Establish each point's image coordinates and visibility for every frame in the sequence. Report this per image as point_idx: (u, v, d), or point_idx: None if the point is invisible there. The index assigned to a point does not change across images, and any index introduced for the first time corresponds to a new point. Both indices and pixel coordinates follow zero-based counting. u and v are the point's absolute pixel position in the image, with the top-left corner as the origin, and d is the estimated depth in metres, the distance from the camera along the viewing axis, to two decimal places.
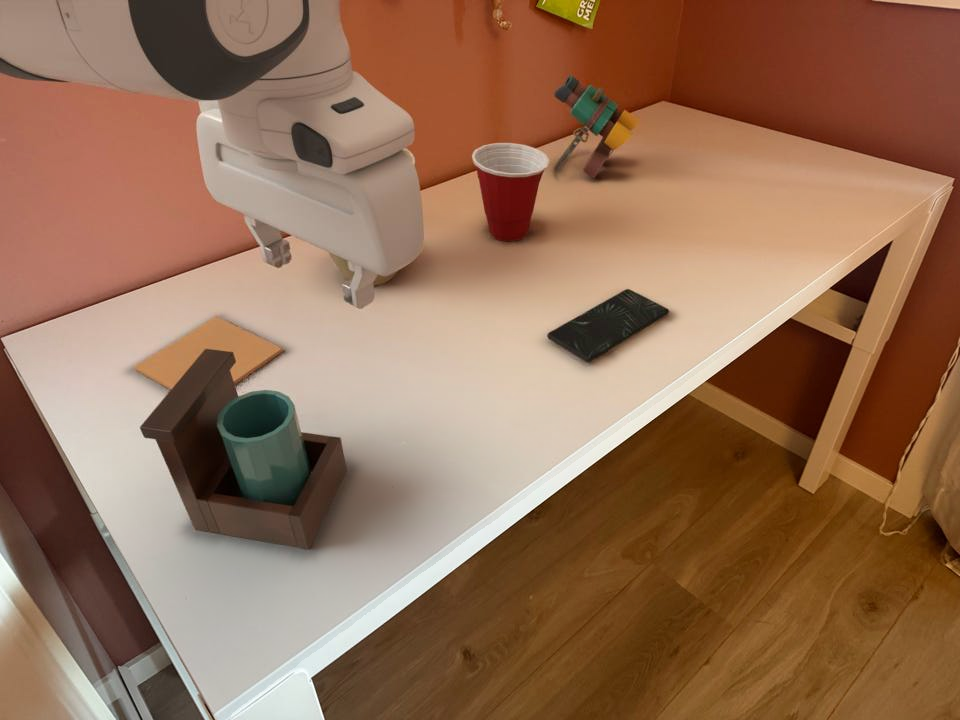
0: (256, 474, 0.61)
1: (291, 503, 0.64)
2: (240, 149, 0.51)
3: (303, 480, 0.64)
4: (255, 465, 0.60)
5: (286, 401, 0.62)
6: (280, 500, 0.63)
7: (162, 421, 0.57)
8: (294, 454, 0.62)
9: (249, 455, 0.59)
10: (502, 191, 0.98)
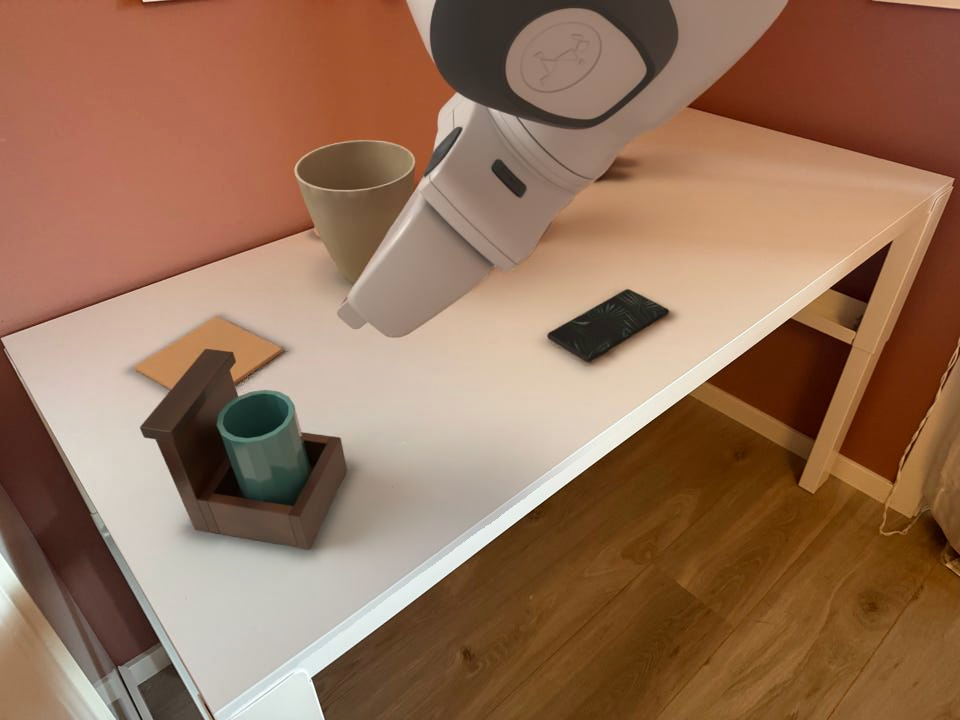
0: (256, 474, 0.61)
1: (291, 503, 0.64)
2: None
3: (303, 480, 0.64)
4: (255, 465, 0.60)
5: (286, 401, 0.62)
6: (280, 500, 0.63)
7: (162, 421, 0.57)
8: (294, 454, 0.62)
9: (249, 455, 0.59)
10: None
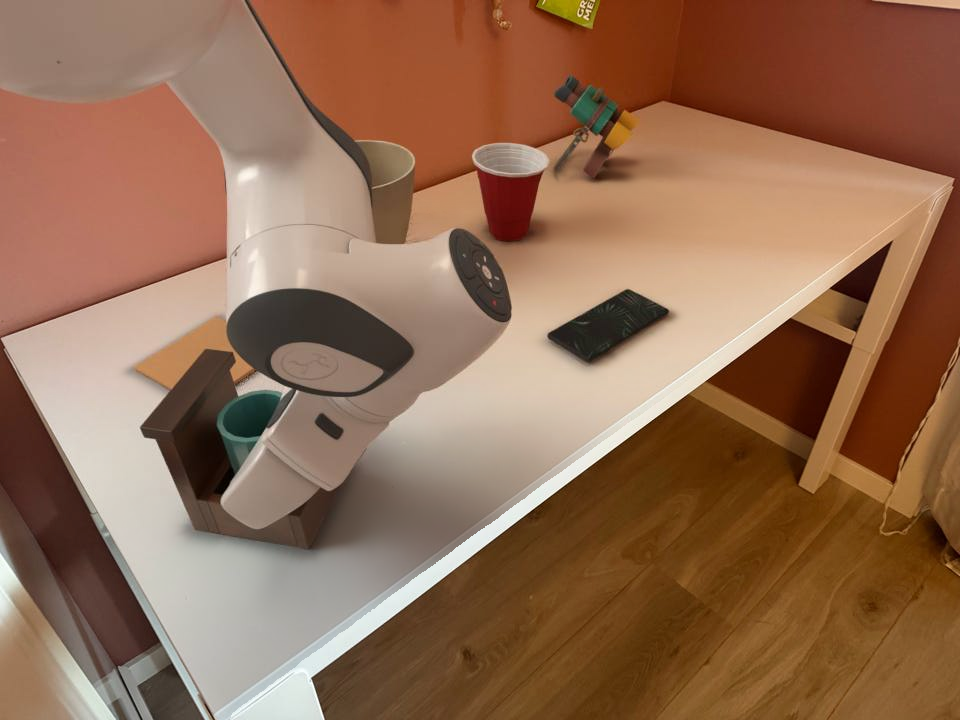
0: None
1: None
2: None
3: None
4: None
5: None
6: None
7: (162, 421, 0.57)
8: None
9: None
10: (502, 191, 0.98)
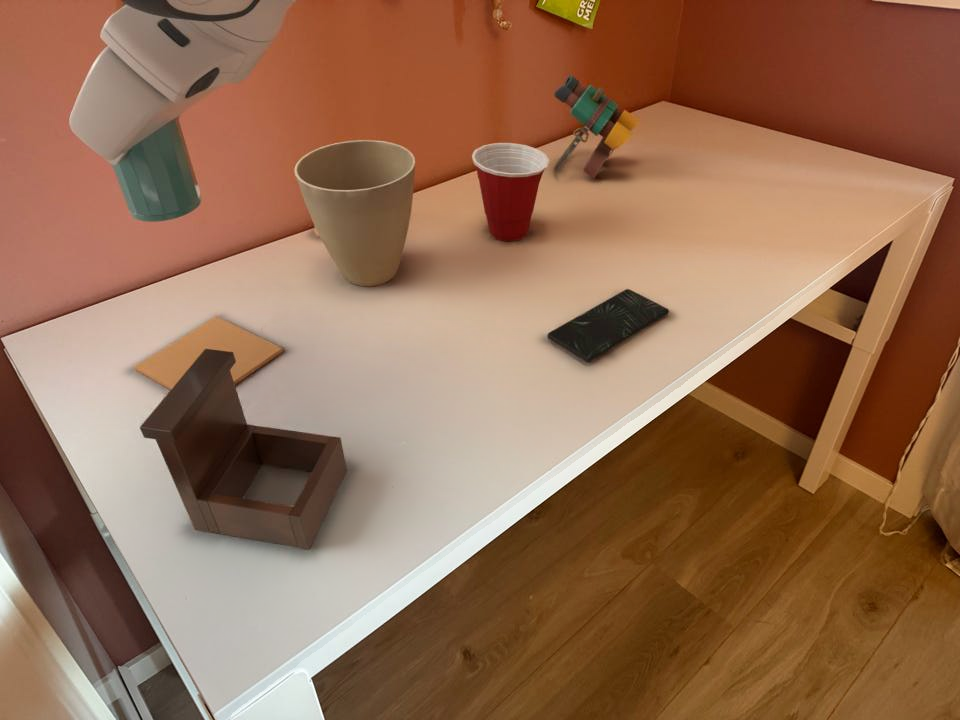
0: None
1: (169, 192, 0.63)
2: None
3: (182, 169, 0.63)
4: None
5: None
6: (156, 185, 0.62)
7: (162, 421, 0.57)
8: (167, 131, 0.61)
9: None
10: (502, 191, 0.98)
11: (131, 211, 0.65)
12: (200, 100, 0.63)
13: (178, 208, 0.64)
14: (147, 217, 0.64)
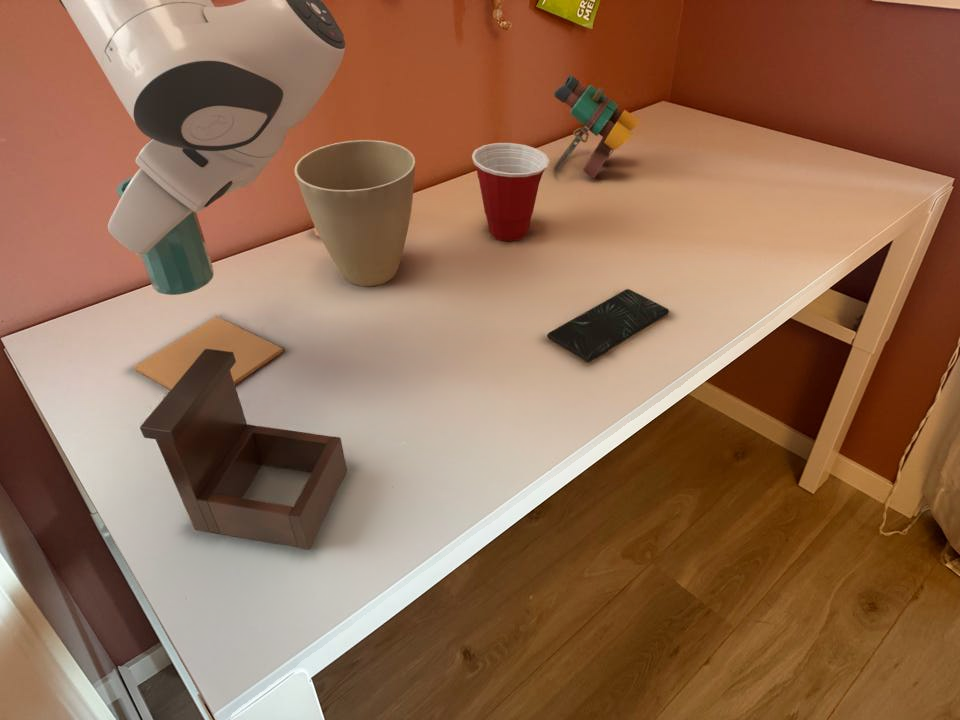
0: None
1: (187, 271, 0.74)
2: None
3: (198, 251, 0.74)
4: None
5: None
6: (176, 265, 0.73)
7: (162, 421, 0.57)
8: (186, 221, 0.72)
9: None
10: (502, 191, 0.98)
11: (154, 285, 0.75)
12: None
13: (194, 283, 0.75)
14: (168, 291, 0.75)
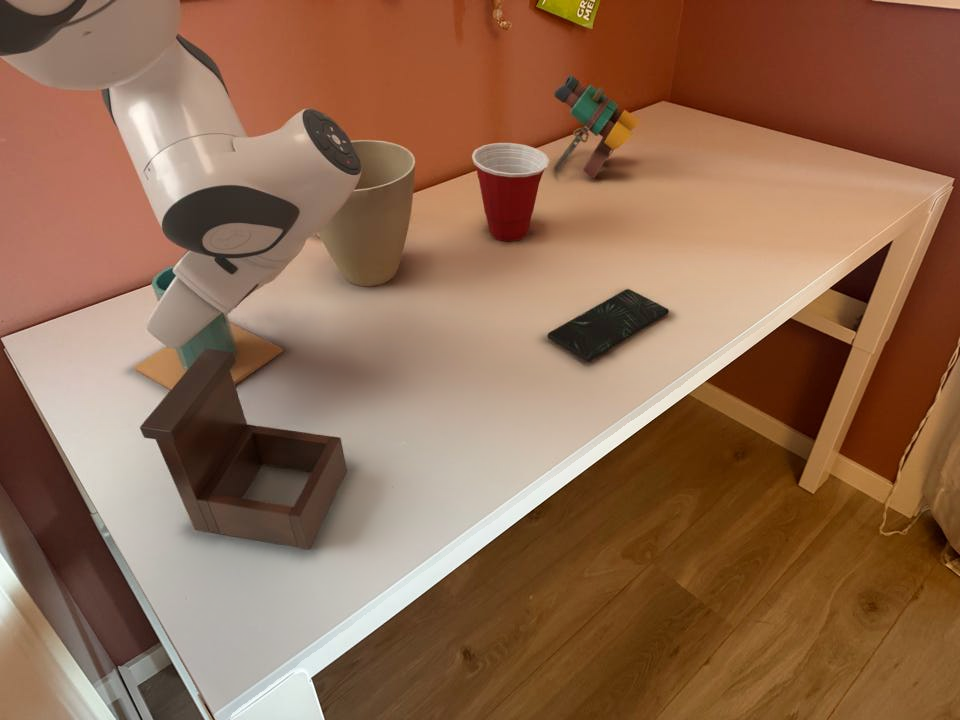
0: None
1: None
2: None
3: (224, 335, 0.81)
4: None
5: None
6: (204, 349, 0.80)
7: (162, 421, 0.57)
8: None
9: None
10: (502, 191, 0.98)
11: (183, 365, 0.82)
12: None
13: None
14: None
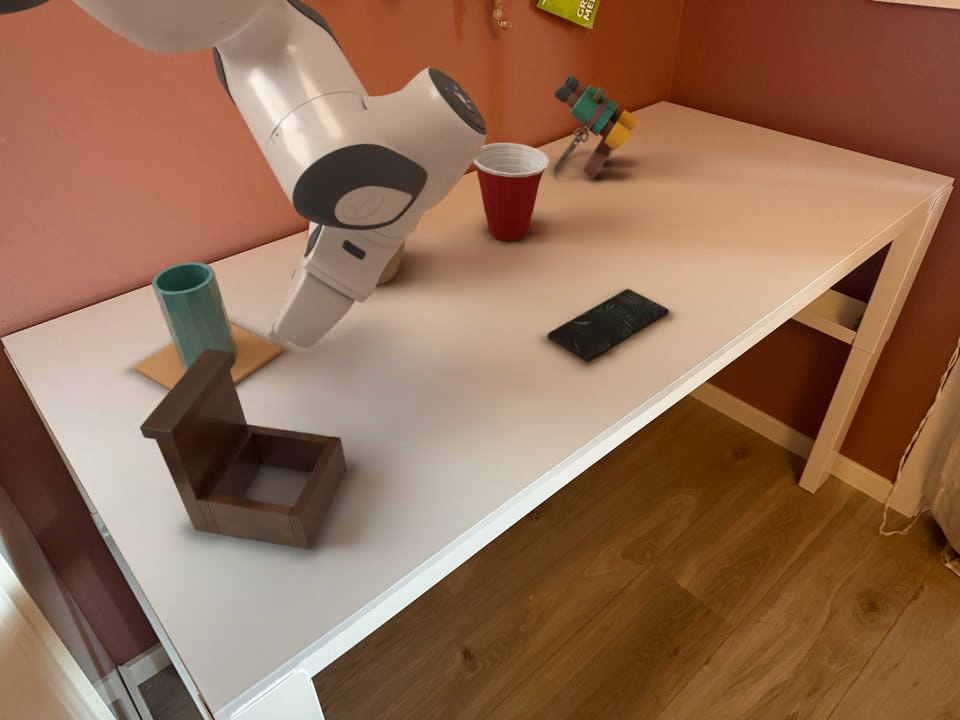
0: (183, 324, 0.77)
1: None
2: None
3: (224, 335, 0.81)
4: (182, 315, 0.77)
5: (208, 269, 0.79)
6: (204, 349, 0.80)
7: (162, 421, 0.57)
8: (214, 310, 0.78)
9: (176, 306, 0.76)
10: (502, 191, 0.98)
11: (183, 365, 0.82)
12: None
13: None
14: None
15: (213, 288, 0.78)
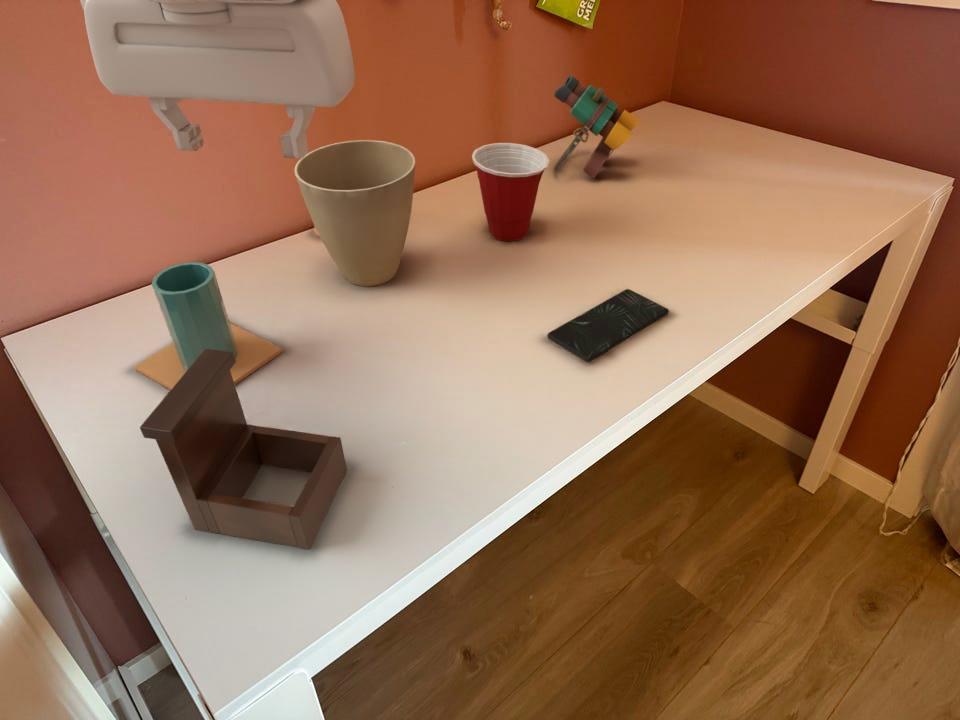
0: (183, 324, 0.77)
1: None
2: (149, 21, 0.52)
3: (224, 335, 0.81)
4: (182, 315, 0.77)
5: (208, 269, 0.79)
6: (204, 349, 0.80)
7: (162, 421, 0.57)
8: (214, 310, 0.78)
9: (176, 306, 0.76)
10: (502, 191, 0.98)
11: (183, 365, 0.82)
12: None
13: None
14: None
15: (213, 288, 0.78)
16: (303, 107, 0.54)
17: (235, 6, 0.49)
